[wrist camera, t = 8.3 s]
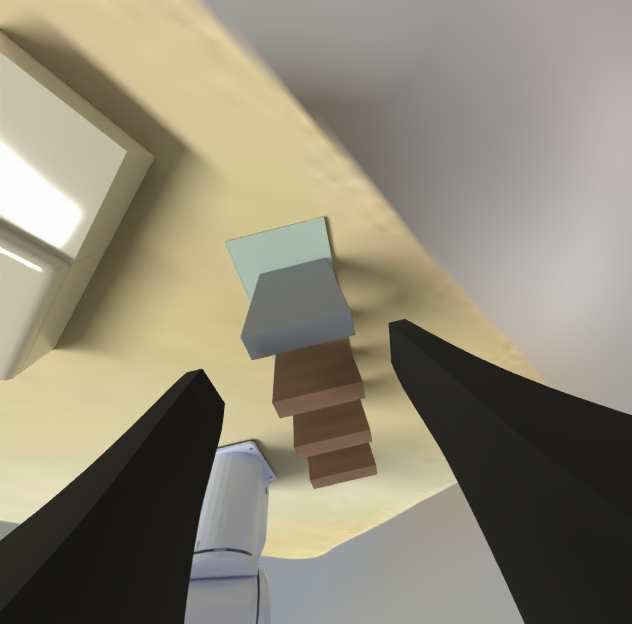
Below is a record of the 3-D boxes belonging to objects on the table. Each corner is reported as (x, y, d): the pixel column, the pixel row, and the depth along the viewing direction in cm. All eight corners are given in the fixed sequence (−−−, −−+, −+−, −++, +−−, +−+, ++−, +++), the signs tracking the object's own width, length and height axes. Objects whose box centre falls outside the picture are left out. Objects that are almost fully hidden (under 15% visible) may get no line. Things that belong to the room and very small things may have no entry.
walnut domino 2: (345, 360, 22) (372, 441, 15) (295, 372, 22) (299, 458, 15) (343, 349, 21) (370, 429, 15) (291, 362, 22) (294, 447, 15)
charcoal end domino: (328, 275, 18) (355, 335, 11) (265, 290, 18) (251, 360, 11) (324, 257, 17) (350, 309, 10) (259, 274, 17) (240, 337, 10)
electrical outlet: (114, 148, 10) (4, 385, 15) (158, 157, 14) (56, 348, 19) (-135, -43, 7) (-164, 330, 13) (4, 31, 11) (-65, 298, 16)
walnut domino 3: (351, 391, 24) (377, 473, 18) (306, 402, 25) (314, 488, 18) (349, 382, 24) (375, 464, 17) (303, 393, 24) (310, 480, 17)
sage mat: (358, 401, 26) (358, 404, 26) (298, 416, 26) (298, 418, 26) (323, 216, 16) (323, 217, 16) (225, 241, 16) (224, 242, 16)
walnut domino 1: (338, 323, 20) (365, 397, 13) (282, 336, 20) (279, 418, 13) (335, 309, 19) (362, 381, 12) (277, 323, 19) (272, 402, 12)
